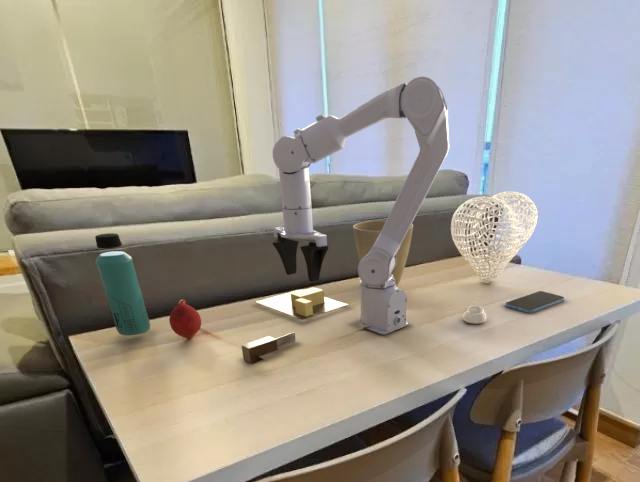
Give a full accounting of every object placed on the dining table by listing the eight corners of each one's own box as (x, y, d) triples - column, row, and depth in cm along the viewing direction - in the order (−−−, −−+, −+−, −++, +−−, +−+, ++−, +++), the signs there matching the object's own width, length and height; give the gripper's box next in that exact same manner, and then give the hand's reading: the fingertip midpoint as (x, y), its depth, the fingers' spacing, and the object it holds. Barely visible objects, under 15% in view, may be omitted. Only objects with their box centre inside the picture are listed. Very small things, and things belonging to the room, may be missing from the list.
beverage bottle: (160, 332, 96) (134, 231, 86) (136, 344, 90) (106, 238, 80) (135, 329, 98) (107, 229, 87) (110, 340, 92) (77, 236, 82)
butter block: (324, 302, 109) (323, 290, 108) (301, 309, 105) (300, 296, 103) (314, 299, 111) (314, 287, 110) (291, 306, 107) (290, 293, 105)
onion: (194, 345, 90) (186, 305, 86) (168, 343, 91) (158, 304, 87) (209, 334, 95) (202, 296, 91) (184, 332, 96) (175, 294, 92)
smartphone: (503, 302, 108) (539, 290, 117) (503, 306, 109) (539, 293, 117) (530, 310, 103) (566, 296, 112) (530, 314, 104) (566, 300, 112)
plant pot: (375, 278, 131) (375, 218, 123) (421, 286, 123) (424, 223, 115) (342, 291, 120) (340, 226, 112) (390, 301, 113) (391, 232, 105)
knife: (251, 364, 82) (248, 348, 81) (243, 360, 84) (241, 345, 82) (299, 346, 89) (298, 331, 88) (291, 343, 91) (290, 328, 89)
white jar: (470, 315, 104) (458, 321, 101) (472, 302, 102) (459, 308, 99) (490, 320, 101) (478, 326, 98) (492, 307, 99) (479, 313, 96)
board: (349, 308, 108) (348, 304, 108) (302, 324, 100) (301, 319, 99) (301, 293, 119) (300, 289, 119) (255, 305, 111) (254, 301, 110)
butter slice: (313, 314, 102) (312, 301, 100) (306, 316, 101) (304, 303, 99) (302, 310, 104) (301, 297, 103) (295, 313, 103) (294, 299, 101)
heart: (486, 268, 140) (496, 187, 128) (535, 276, 131) (551, 191, 120) (435, 288, 122) (441, 197, 110) (488, 300, 113) (500, 202, 101)
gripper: (258, 206, 92) (266, 274, 99) (304, 213, 84) (310, 287, 91) (286, 202, 97) (292, 268, 104) (333, 209, 88) (336, 280, 95)
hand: (302, 277), depth 97 cm, fingers open, 7 cm apart
